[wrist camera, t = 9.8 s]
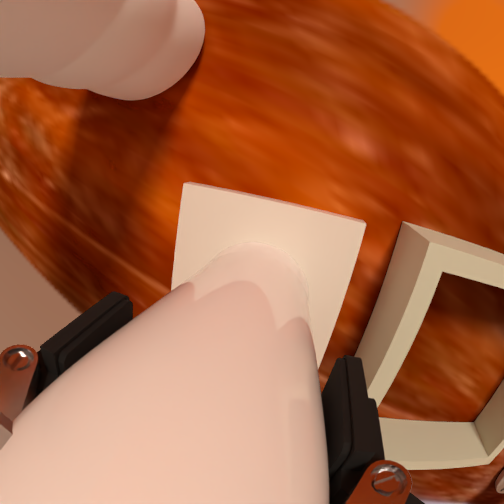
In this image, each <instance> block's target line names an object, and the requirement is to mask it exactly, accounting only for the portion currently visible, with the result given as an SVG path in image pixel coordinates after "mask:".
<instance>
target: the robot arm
mask: <svg viewBox="0 0 504 504" xmlns="http://www.w3.org/2000/svg"><path fill="white" fill-rule="evenodd" d="M132 319H133V305H132V302H131V301H129V297H128V296H126V295H123V294H120V293H117V292H111V293H110V294H109V295H107V296H106V297H104V298H103V299H102V300H100V301H99V302H98V303H96V304H95V305H94V306H92V307H91V308H90V309H88V310H87V311H85V312H84V313H83V314H81V315H80V316H79V317H77V318H76V319H75V320H73V321H72V322H71V323H69V324H68V325H67V326H66V327H64V328H63V329H62V330H60V331H59V332H58V333H57V334H55V335H54V336H53V337H51V338H50V339H49V340H47V341H46V342H45V343H44V344H42V345H41V346H40V348H41V350H40V351H38V352H36V351H35V350H34V349H33V348H31V347H29V346H26V345H13V346H11V347H8V348H7V349H5V350H4V351H3V352H2V353H1V354H0V450H1V449H2V448H3V446H4V445H5V444H6V443H7V441H8V440H9V439H10V437H11V436H12V435H13V432H12V427H13V420H14V419H15V418H16V417H17V416H18V415H19V414H20V412H21V411H22V410H23V409H24V408H25V407H26V406H27V405H28V404H29V403H30V402H32V401H33V400H34V399H35V398H36V397H37V396H38V395H39V394H40V393H41V392H42V391H43V390H44V389H45V388H46V387H47V386H49V385H50V384H51V383H52V382H53V381H54V380H55V379H56V378H58V377H59V376H60V375H61V374H62V373H63V372H64V371H66V370H67V369H68V368H69V367H71V366H72V365H73V364H74V363H75V362H77V361H78V360H79V359H80V358H82V357H83V356H84V355H85V354H87V353H88V352H89V351H91V350H92V349H93V348H95V347H96V346H97V345H98V344H100V343H101V342H102V341H104V340H105V339H106V338H108V337H109V336H110V335H112V334H113V333H115V332H116V331H117V330H119V329H120V328H121V327H123V326H124V325H125V324H127V323H128V322H129V321H131V320H132ZM321 397H322V405H323V413H324V421H325V430H326V440H327V451H328V464H329V489H330V504H425V503H423V502H422V501H421V500H419V499H418V498H417V497H415V496H414V495H413V494H411V493H410V490H411V487H412V479H411V476H410V474H409V472H408V470H407V469H406V468H405V467H404V466H402V465H401V464H399V463H397V462H394V461H391V460H385V455H384V448H383V441H382V434H381V428H380V421H379V415H378V410H377V404H376V401H375V399H373V398H368V392H367V386H366V380H365V375H364V369H363V363H362V359H361V358H359V357H353V356H348V355H344V357H343V358H342V359H341V358H338V359H337V360H336V362H335V365H334V367H333V369H332V372H331V374H330V376H329V379H328V381H327V383H326V385H325V388H324V390H323V392H322V394H321ZM495 488H496V491H497V492H498V493H504V469H503V471H502V472H501V473H500V475H499V476H498V478H497V480H496V482H495Z"/></svg>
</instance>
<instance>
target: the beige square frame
mask: <svg viewBox="0 0 504 504" xmlns="http://www.w3.org/2000/svg"><path fill="white" fill-rule="evenodd" d="M442 271H443V272H446V273H450V274H453V275H457V276H461V277H464V278H468V279H471V280H475V281H478V282H482V283H485V284H489V285H492V286H496V287H499V288H502V289H504V254H502V253H499V252H496V251H493V250H490V249H488V248H485V247H482V246H479V245H476V244H473V243H470V242H467V241H464V240H461V239H458V238H455V237H452V236H449V235H446V234H443V233H440V232H437V231H433V230H430V229H427V228H424V227H420V226H417V225H414V224H410V223H407V222H404V221H402V225H401V228H400V232H399V235H398V238H397V242H396V245H395V248H394V252H393V255H392V258H391V261H390V264H389V267H388V270H387V273H386V276H385V279H384V282H383V285H382V288H381V291H380V293H379V296H378V299H377V302H376V304H375V307H374V310H373V312H372V315H371V317H370V320H369V322H368V325H367V327H366V330H365V332H364V335H363V337H362V340H361V342H360V344H359V347H358V349H357V351H356V354H355V356H354V357H359V358H361V359H362V363H363V369H364V375H365V380H366V386H367V392H368V398H373V399H375V401H376V404H377V407H378V406H379V404H380V402H381V401H382V399H383V397H384V396H385V394H386V392H387V390H388V389H389V387H390V385H391V383H392V382H393V380H394V378H395V376H396V374H397V372H398V371H399V369H400V367H401V365H402V363H403V361H404V359H405V357H406V355H407V353H408V351H409V349H410V347H411V345H412V343H413V341H414V339H415V337H416V334H417V332H418V330H419V328H420V326H421V323H422V321H423V319H424V317H425V314H426V312H427V310H428V307H429V305H430V302H431V300H432V297H433V295H434V292H435V290H436V287H437V285H438V282H439V279H440V277H441V274H442ZM379 421H380V428H381V434H382V441H383V448H384V455H385V460H391V461H394V462H397V463H399V464H401V465H402V466H404V467H405V468H406V469H407V470H425V469H446V468H459V467H469V466H477V465H485V464H489V463H490V462H491V461H492V460H493V459H494V458H495V457H496V456H497V455H498V454H499V452H500V451H501V450H502V449H503V448H504V380H503V381H502V383H501V384H500V386H499V387H498V389H497V390H496V392H495V393H494V395H493V396H492V398H491V399H490V401H489V402H488V404H487V405H486V406H485V408H484V409H483V411H482V412H481V413H480V415H479V416H478V417H477V419H476V420H475V421H474V422H432V421H414V420H401V419H390V418H380V417H379Z"/></svg>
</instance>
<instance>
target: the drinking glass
mask: <svg viewBox="0 0 504 504" xmlns="http://www.w3.org/2000/svg"><path fill="white" fill-rule="evenodd" d="M309 299H310V296H309V287H308V282H307V279H306V276H305V274H304V272H303V270H302V268H301V267H300V266H299V264H298V263H297V262H296V261H295V259H294V258H292V257H291V256H290V255H289V254H288V253H286V252H285V251H283V250H282V249H280V248H278V247H276V246H274V245H271V244H268V243H263V242H242V243H238V244H234V245H232V246H229V247H227V248H225V249H224V250H222V251H221V252H219V253H218V254H217V255H216V256H215V257H214V258H213V259H212V260H211V261H210V262H209V263H208V264H207V265H206V266H204V267H203V268H202V269H200V270H199V271H198V272H196V273H195V274H194V275H192V276H191V277H190V278H188V279H187V280H186V281H184V282H183V283H181V284H180V285H179V286H177V287H176V288H175V289H173V290H172V291H171V292H169V293H168V294H166V295H165V296H164V297H162V298H161V299H160V300H158V301H157V302H156V303H154V304H153V305H151V306H150V307H149V308H147V309H146V310H145V311H143V312H142V313H140V314H139V315H138V316H136V317H135V318H134V319H132V320H131V321H129V322H128V323H127V324H125V325H124V326H123V327H121V328H120V329H119V330H117V331H116V332H115V333H113V334H112V335H110V336H109V337H108V338H106V339H105V340H104V341H102V342H101V343H100V344H98V345H97V346H96V347H95V348H93V349H92V350H91V351H89V352H88V353H87V354H85V355H84V356H83V357H82V358H80V359H79V360H78V361H77V362H75V363H74V364H73V365H72V366H71V367H69V368H68V369H67V370H66V371H64V372H63V373H62V374H61V375H60V376H59V377H58V378H56V379H55V380H54V381H53V382H52V383H51V384H50V385H49V386H47V387H46V388H45V389H44V390H43V391H42V392H41V393H40V394H39V395H38V396H37V397H36V398H35V399H34V400H33V401H32V402H30V403H29V404H28V405H27V406H26V407H25V408H24V409H23V410H22V411H21V412H20V414H19V415H18V416H17V417H16V418H15V419H14V420H13V427H12V432H13V435H12V436H11V437H10V439H9V440H8V441H7V443H6V444H5V445H4V446H3V448H2V449H1V450H0V504H330V489H329V464H328V451H327V440H326V430H325V421H324V413H323V405H322V397H321V389H320V381H319V374H318V366H317V359H316V352H315V345H314V337H313V330H312V323H311V316H310V308H309Z"/></svg>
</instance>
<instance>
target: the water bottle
mask: <svg viewBox="0 0 504 504" xmlns="http://www.w3.org/2000/svg"><path fill="white" fill-rule="evenodd" d="M204 34H205V23H204V18H203V15H202V12H201V10H200V8H199V7H198V5H197V3H196V2H195V1H194V0H0V77H31V78H33V79H35V80H37V81H40V82H42V83H45V84H49V85H53V86H58V87H63V88H71V89H88V90H90V91H93V92H95V93H98V94H101V95H104V96H108V97H112V98H116V99H121V100H141V99H146V98H150V97H153V96H155V95H157V94H160V93H162V92H163V91H165V90H167V89H168V88H170V87H171V86H173V85H174V84H175V83H176V82H178V81H179V80H180V79H181V78H182V77H183V76H184V75H185V74H186V73H187V72H188V70H189V69H190V68H191V66H192V65H193V64H194V62H195V60H196V59H197V57H198V55H199V53H200V50H201V47H202V44H203V41H204Z"/></svg>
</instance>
